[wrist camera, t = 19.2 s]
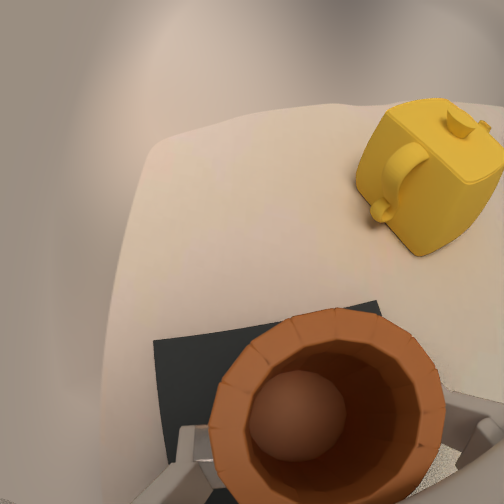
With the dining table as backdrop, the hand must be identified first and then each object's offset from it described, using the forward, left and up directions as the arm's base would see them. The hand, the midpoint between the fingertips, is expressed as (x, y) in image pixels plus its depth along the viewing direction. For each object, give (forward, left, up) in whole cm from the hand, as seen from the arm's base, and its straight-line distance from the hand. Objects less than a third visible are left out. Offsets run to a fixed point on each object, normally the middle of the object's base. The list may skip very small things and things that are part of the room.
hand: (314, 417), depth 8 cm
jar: (0, 0, -5) cm, 5 cm away
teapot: (+20, +17, -12) cm, 29 cm away
